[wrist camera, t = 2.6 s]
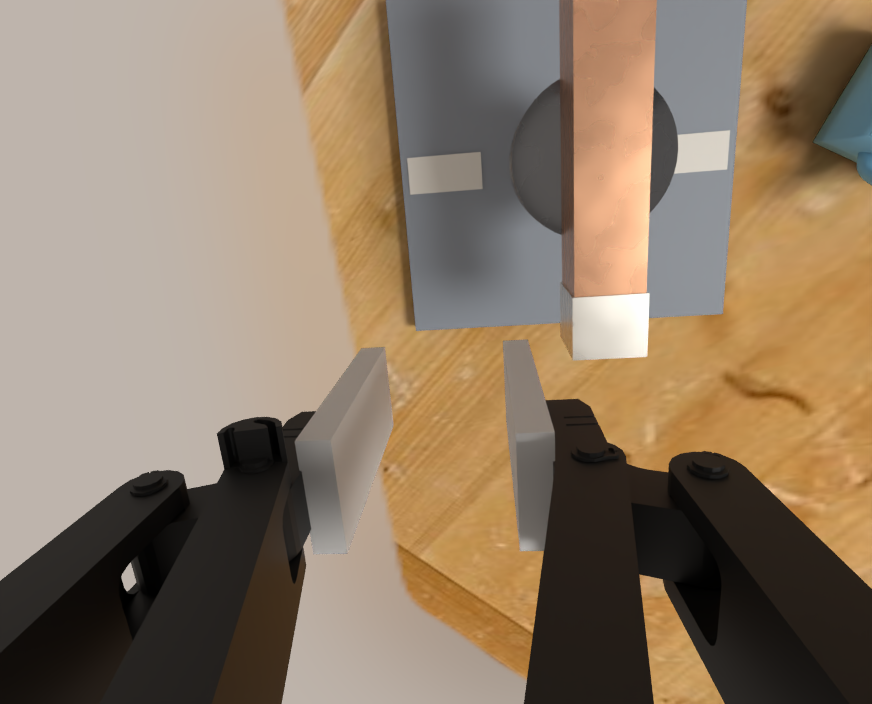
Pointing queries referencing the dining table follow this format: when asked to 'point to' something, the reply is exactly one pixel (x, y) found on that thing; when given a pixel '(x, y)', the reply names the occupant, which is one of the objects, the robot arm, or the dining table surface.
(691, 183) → the striped base plate
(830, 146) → the teapot
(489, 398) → the dining table surface
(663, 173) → the t handle
